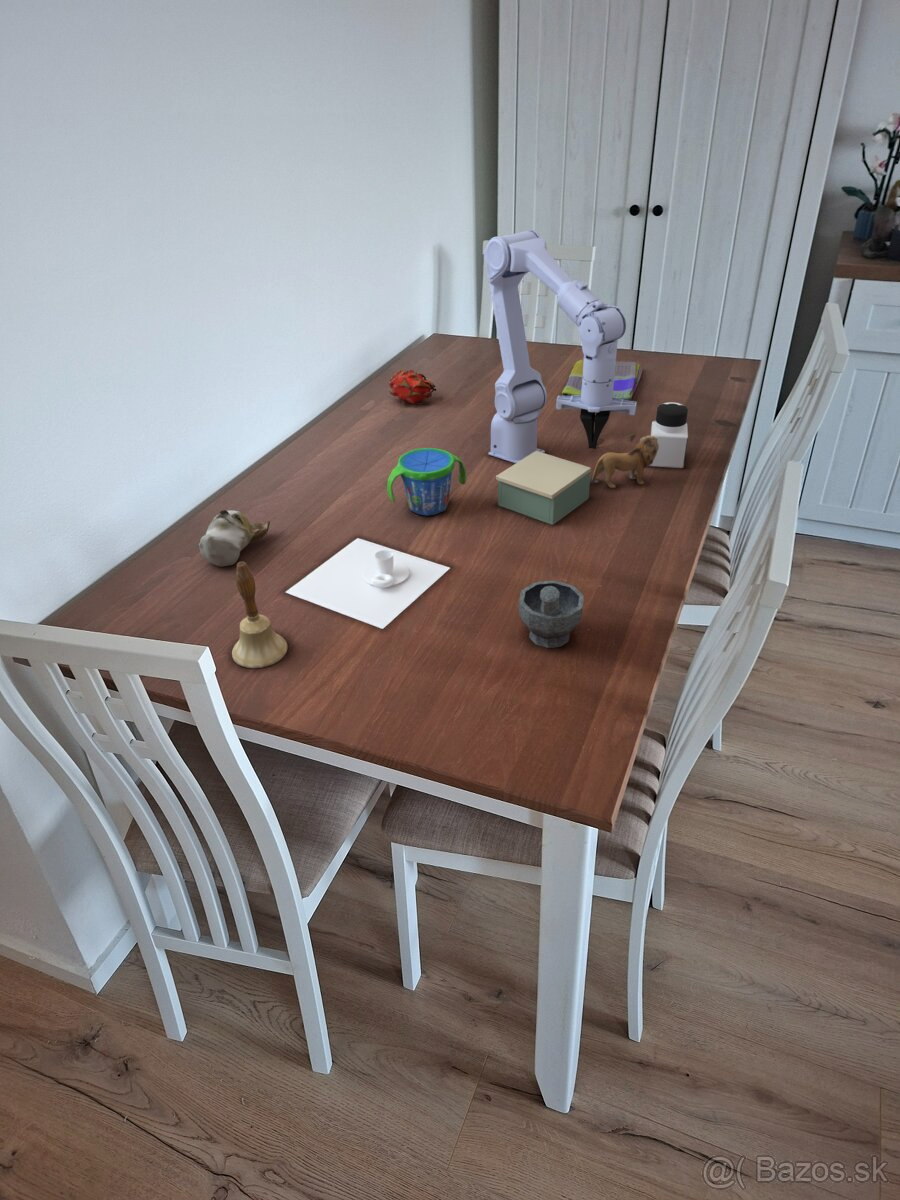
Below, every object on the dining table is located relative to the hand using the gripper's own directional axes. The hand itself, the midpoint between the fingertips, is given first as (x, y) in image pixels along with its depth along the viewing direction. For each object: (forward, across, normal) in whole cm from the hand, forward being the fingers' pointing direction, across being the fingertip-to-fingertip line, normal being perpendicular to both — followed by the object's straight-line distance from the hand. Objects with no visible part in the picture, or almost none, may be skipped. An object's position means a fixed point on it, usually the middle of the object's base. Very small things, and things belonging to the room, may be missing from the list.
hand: (592, 446), depth 161 cm
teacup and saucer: (+10, -32, -39) cm, 52 cm away
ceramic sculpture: (+10, -59, -36) cm, 70 cm away
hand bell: (+10, -42, -61) cm, 75 cm away
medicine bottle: (+10, +14, +17) cm, 24 cm away
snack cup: (+10, -29, -13) cm, 34 cm away
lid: (+4, -8, -6) cm, 11 cm away
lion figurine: (+10, +6, +6) cm, 13 cm away
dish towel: (+10, -4, +56) cm, 57 cm away
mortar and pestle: (+10, 0, -48) cm, 49 cm away
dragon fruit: (+10, -47, +37) cm, 61 cm away
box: (+10, -8, -6) cm, 14 cm away
